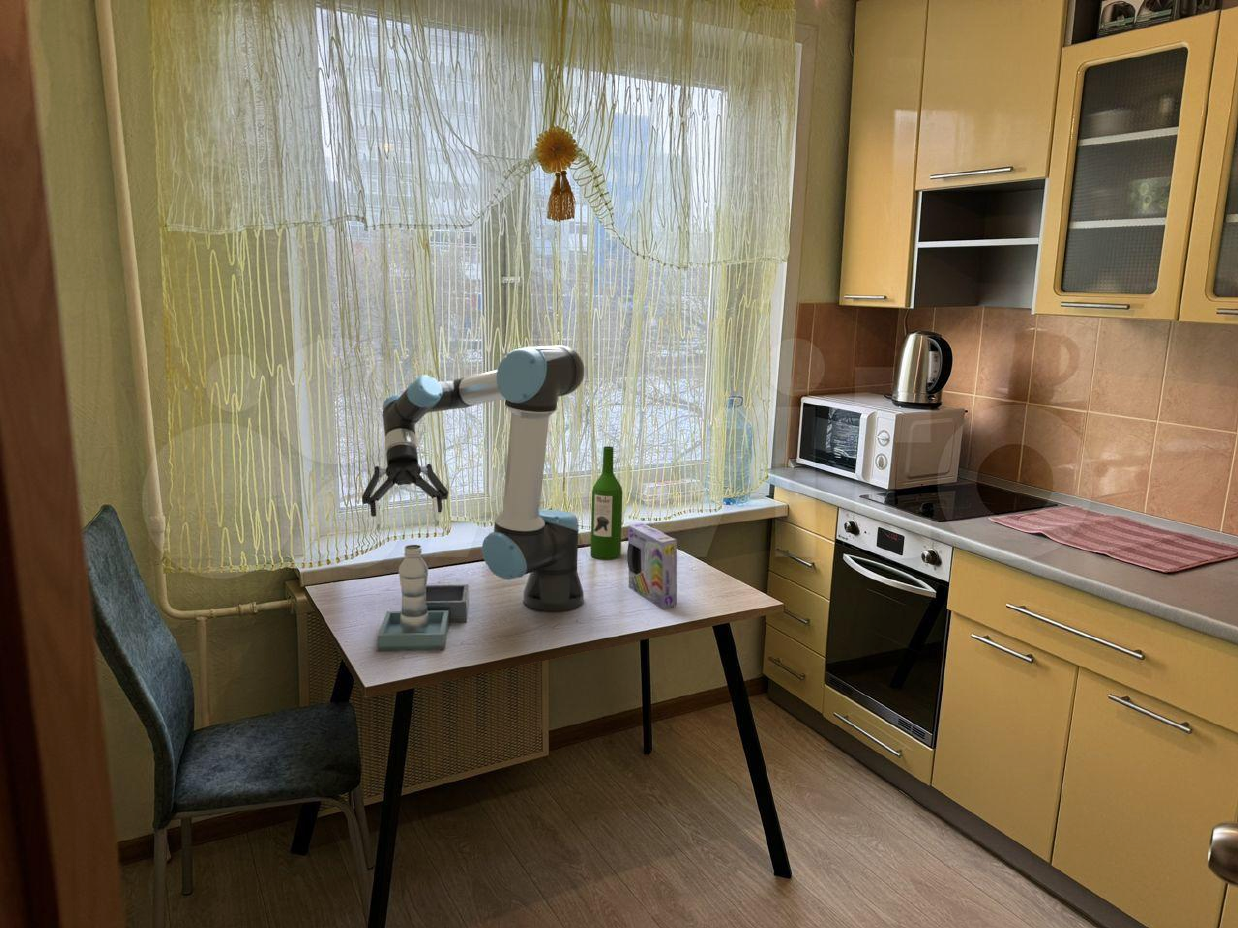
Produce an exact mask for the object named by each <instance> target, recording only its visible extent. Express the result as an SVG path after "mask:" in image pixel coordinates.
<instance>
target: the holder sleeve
mask: <svg viewBox="0 0 1238 928" xmlns="http://www.w3.org/2000/svg"><path fill="white" fill-rule="evenodd" d="M426 602H427V611H434V610H449V624H453V623H467V622H468V621H467V620H468V615H469V614H468V611H469V606H470V605H469V603H470V584H427V585H426Z"/></svg>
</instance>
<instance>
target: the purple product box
mask: <svg viewBox="0 0 1238 928" xmlns="http://www.w3.org/2000/svg"><path fill="white" fill-rule="evenodd" d="M627 527H628V528H627V530H628V538H627V539H628V540H627V542H628V545H627V551H626V557H627V559H626V560H627V567H628V588H629V589H631V590H632V591H634V592H636V593H637V594H639V595H640V596H641V597H643V596H644V597H643V598H645V599H647V600H648V601H650V602H651V603H653V604H655V605H656V606H657V607H660V609H668V608H675V607H674V606H677V604H678V600H677V599H678V584H677V583H678V540H677V539H676V538H674V537H671V536H670V535H667V534H665V533H664V532H663V531H661V530H659V529H658V528H655V527H652V526H649V525H648V524H646V523H644V522H637V523H633V524H628V526H627Z"/></svg>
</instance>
